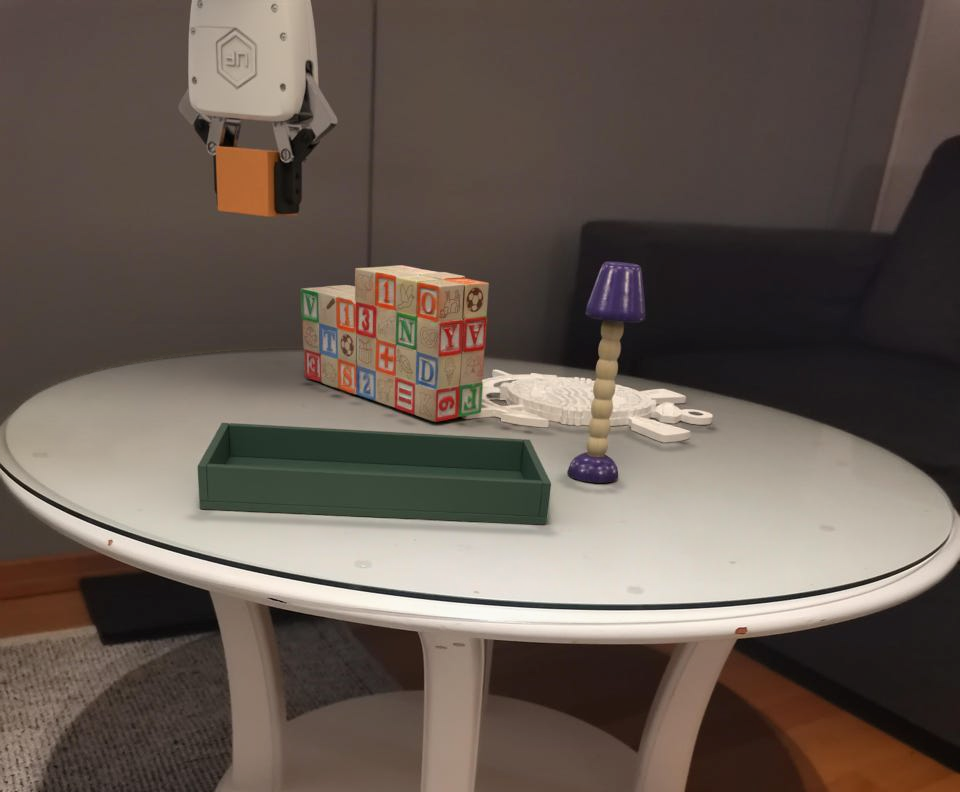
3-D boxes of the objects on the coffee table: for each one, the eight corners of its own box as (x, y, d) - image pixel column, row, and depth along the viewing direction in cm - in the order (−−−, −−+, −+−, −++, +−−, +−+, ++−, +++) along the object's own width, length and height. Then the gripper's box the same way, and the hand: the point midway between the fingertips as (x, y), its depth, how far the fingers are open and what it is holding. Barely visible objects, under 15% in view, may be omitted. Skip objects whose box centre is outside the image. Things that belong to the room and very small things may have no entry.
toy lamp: (557, 466, 83) (582, 257, 75) (606, 465, 84) (636, 260, 77) (579, 484, 79) (608, 265, 71) (631, 483, 80) (664, 268, 73)
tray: (199, 509, 67) (197, 465, 65) (223, 461, 77) (221, 422, 75) (546, 524, 70) (551, 483, 68) (526, 476, 79) (530, 439, 78)
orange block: (268, 216, 83) (267, 151, 80) (217, 210, 84) (215, 146, 82) (297, 215, 87) (297, 152, 85) (249, 209, 88) (247, 147, 86)
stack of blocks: (302, 378, 104) (298, 256, 99) (349, 372, 108) (347, 254, 103) (436, 422, 91) (439, 283, 85) (483, 413, 95) (490, 279, 89)
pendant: (465, 372, 114) (466, 360, 113) (706, 399, 111) (709, 387, 110) (427, 414, 95) (428, 400, 94) (717, 449, 92) (720, 434, 91)
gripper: (132, -53, 76) (149, 201, 84) (327, -46, 72) (324, 221, 80) (189, -35, 83) (199, 199, 91) (371, -27, 78) (365, 219, 86)
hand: (258, 207), depth 85 cm, fingers closed on orange block, 5 cm apart
